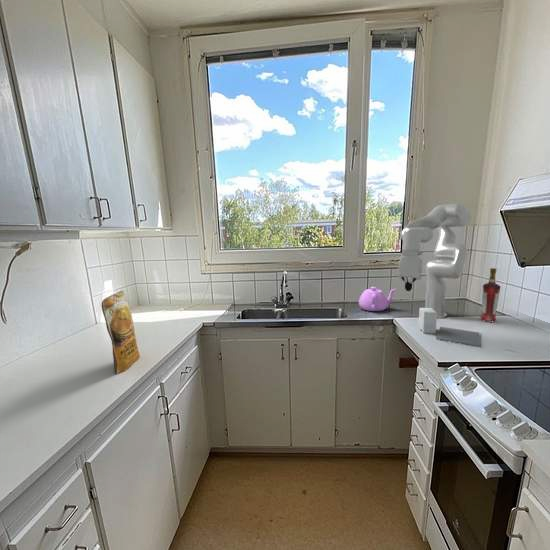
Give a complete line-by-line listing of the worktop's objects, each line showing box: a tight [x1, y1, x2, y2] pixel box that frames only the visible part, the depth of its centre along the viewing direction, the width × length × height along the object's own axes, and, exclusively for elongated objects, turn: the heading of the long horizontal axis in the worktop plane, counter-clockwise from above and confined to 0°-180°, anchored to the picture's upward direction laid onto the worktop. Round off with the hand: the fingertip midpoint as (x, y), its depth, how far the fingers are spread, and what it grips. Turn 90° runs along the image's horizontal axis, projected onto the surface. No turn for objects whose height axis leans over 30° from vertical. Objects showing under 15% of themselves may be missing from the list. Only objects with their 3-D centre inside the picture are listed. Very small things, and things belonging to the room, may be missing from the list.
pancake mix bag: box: [101, 290, 141, 374], centre depth 109 cm, size 7×19×28 cm, turn 0°
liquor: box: [480, 267, 501, 323], centre depth 150 cm, size 7×7×28 cm
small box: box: [418, 307, 438, 334], centre depth 138 cm, size 8×6×10 cm
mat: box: [435, 326, 481, 348], centre depth 131 cm, size 18×16×1 cm
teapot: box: [358, 286, 397, 312], centre depth 177 cm, size 22×22×14 cm
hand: (408, 290), depth 141 cm, fingers closed
